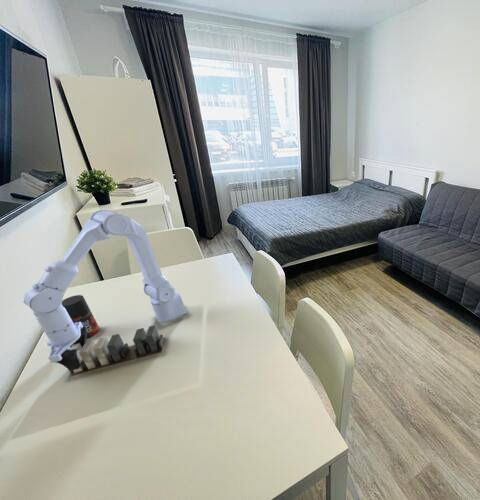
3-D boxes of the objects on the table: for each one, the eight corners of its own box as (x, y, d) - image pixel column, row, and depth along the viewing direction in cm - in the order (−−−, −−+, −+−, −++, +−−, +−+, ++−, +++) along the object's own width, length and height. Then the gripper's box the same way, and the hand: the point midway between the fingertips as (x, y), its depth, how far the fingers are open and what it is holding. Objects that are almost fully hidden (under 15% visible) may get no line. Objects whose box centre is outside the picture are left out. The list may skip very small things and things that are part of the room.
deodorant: (88, 342, 91) (69, 306, 85) (74, 340, 92) (54, 304, 86) (105, 330, 96) (87, 296, 90) (91, 328, 98) (73, 294, 91)
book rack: (166, 339, 92) (159, 322, 88) (162, 354, 86) (155, 336, 83) (80, 361, 84) (69, 343, 81) (70, 379, 78) (58, 360, 75)
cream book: (88, 358, 84) (79, 342, 81) (82, 371, 79) (72, 354, 77) (81, 360, 83) (72, 344, 80) (74, 373, 79) (64, 356, 76)
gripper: (53, 314, 80) (73, 348, 85) (24, 348, 67) (49, 385, 73) (83, 308, 82) (100, 342, 88) (59, 340, 70) (81, 377, 75)
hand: (79, 361), depth 81 cm, fingers closed on cream book, 5 cm apart
